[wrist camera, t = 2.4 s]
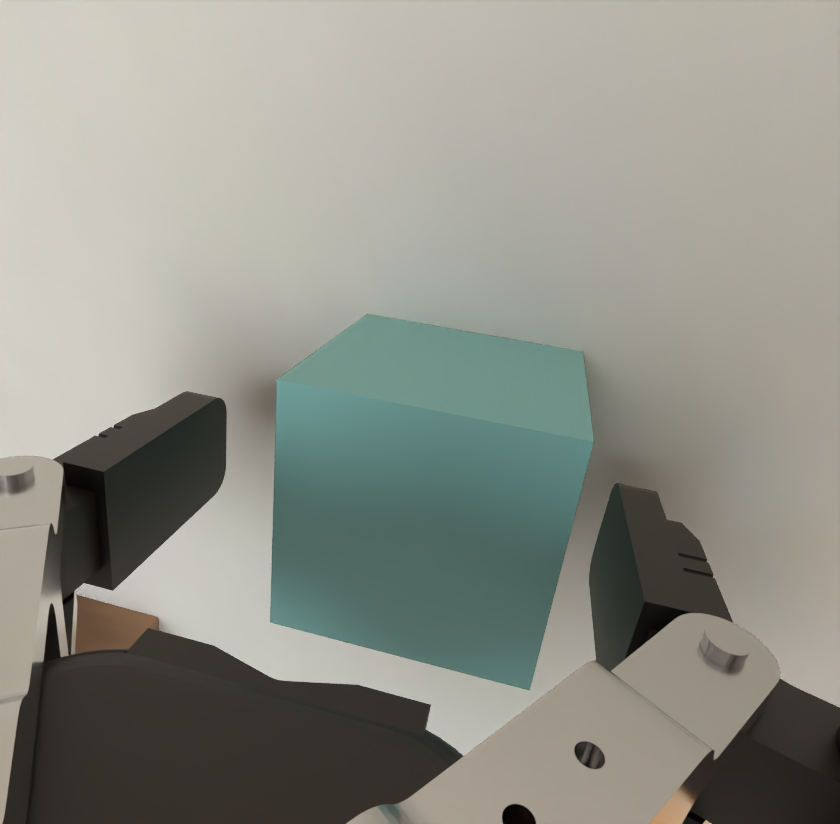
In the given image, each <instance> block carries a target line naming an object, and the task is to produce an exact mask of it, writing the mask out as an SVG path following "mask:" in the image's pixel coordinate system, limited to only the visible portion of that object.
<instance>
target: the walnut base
mask: <svg viewBox="0 0 840 824" xmlns="http://www.w3.org/2000/svg"><path fill="white" fill-rule="evenodd" d="M76 596H77V625H76V645H75V654H77V653H82V652H88V651H96V650H103V649H129V648H130V647H131V646H132V645H133V644H134V643H135V642H136V641H137V639H138V638H139V637H140V636H141V635H142V634H143V633H144V632H145V631H146V629H147V628H150V629H154V630H158V631H159V621H158V617H155V616H151V615H147V614H144V613H140V612H137V611H133V610H129V609H126V608H122V607H118V606H115V605H111V604H107V603H104V602H100V601H97V600H93V599H89V598H86V597H82V596H78V595H76Z"/></svg>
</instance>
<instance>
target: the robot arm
mask: <svg viewBox="0 0 840 824" xmlns="http://www.w3.org/2000/svg"><path fill="white" fill-rule="evenodd" d="M226 418H227V412H226V405H225V402H224V401H223V400H222V399H221V398H216V397H212V396H207V395H202V394H197V393H193V392H188V391H187V392H183V393H181V394H180V395H178V396H176V397H174V398H173V399H171V400H169V401H168V402H166V403H164V404H162V405H161V406H159V407H157V408H155V409H152V410H148V411H145V412H141V413H137V414H134V415H131V416H130V417H128V418H126V419H124V420H122V421H121V422H119V423H117V424H115V425H114V428H112V427H110V428H108V429H106V430H105V431H103V432H101V433H99V436H94V437H92V438H90V439H89V440H87V441H85V442H83V443H82V444H80V445H78V446H76V447H74V448H73V449H71V450H69V451H67V452H66V453H64V454H62V455H60V456H58V457H57V458H55V459H53V460H52V459H49V458H44V457H38V456H15V457H7V458H2V459H0V824H709V822H710V823H712V824H840V708H839V707H837V706H835V705H833V704H830V703H828V702H826V701H824V700H822V699H819V698H817V697H815V696H813V695H811V694H808V693H806V692H804V691H802V690H800V689H798V688H796V687H794V686H792V685H790V684H788V683H787V682H785V681H783V680H781V679H780V668H779V665H778V662H777V660H776V659H775V657H774V655H773V654H772V653H771V651H770V650H769V649H768V648H767V647H766V646H765V645H764V644H763V643H762V642H761V641H760V640H759V639H758V638H756V637H755V636H754V635H753V634H751V633H750V632H748V631H747V630H745V629H744V628H742V627H740V626H738V625H736V624H734V623H733V621H732V619H731V616H730V614H729V612H728V609H727V607H726V604H725V602H724V599H723V597H722V595H721V592H720V590H719V587H718V585H717V582H716V580H715V578H713V573H712V570H711V568H710V565H709V563H707V558H706V556H705V553H704V551H703V548H702V546H701V543H700V541H699V540H698V539H697V538H696V537H695V536H694V535H693V534H692V533H691V532H690V531H689V530H688V529H687V528H686V527H685V526H684V525H683V524H682V523H679V522H674V521H670V520H667V519H666V516H665V513H664V510H663V508H662V505H661V502H660V499H659V496H658V493H657V492H655V491H651V490H646V489H641V488H637V487H632V486H627V485H622V484H618V483H616V484H615V485H614V487H613V489H612V491H611V494H610V497H609V501H608V504H607V507H606V511H605V514H604V518H603V521H602V524H601V528H600V531H599V534H598V538H597V541H596V544H595V548H594V551H593V555H592V560H591V566H590V574H589V587H590V597H591V608H592V619H593V629H594V640H595V650H596V661H595V660H594V661H590V662H588V663H586V664H585V665H583V666H582V667H581V668H579V669H578V670H577V671H575V672H574V673H573V674H571V675H570V676H569V677H567V678H566V679H565V680H563V681H562V682H561V683H560V684H558V685H557V686H556V687H554V688H553V689H552V690H550V691H549V692H548V693H546V694H545V695H544V696H542V697H541V698H540V699H538V700H537V701H536V702H534V703H533V704H532V705H531V706H529V707H528V708H527V709H525V710H524V711H523V712H521V713H520V714H519V715H517V716H516V717H515V718H513V719H512V720H511V721H509V722H508V723H507V724H506V725H504V726H503V727H502V728H500V729H499V730H498V731H496V732H495V733H494V734H492V735H491V736H490V737H488V738H487V739H486V740H484V741H483V742H482V743H481V744H479V745H478V746H477V747H475V748H474V749H473V750H471V751H470V752H469V753H467V754H466V755H465V756H463V755H462V754H460V753H459V752H458V751H457V750H456V749H455V748H453V747H452V746H451V745H449V744H448V743H446V742H445V741H443V740H442V739H441V738H439V737H437V736H436V735H434V734H432V733H431V732H429V731H427V730H426V726H427V721H428V716H429V711H430V706H431V705H429V704H426V703H422V702H418V701H415V700H411V699H407V698H404V697H400V696H396V695H393V694H389V693H385V692H382V691H378V690H374V689H371V688H367V687H363V686H360V685H349V684H330V683H311V682H292V681H280V680H276V679H273V678H271V677H269V676H267V675H265V674H263V673H261V672H260V671H258V670H256V669H254V668H253V667H251V666H249V665H247V664H245V663H244V662H242V661H240V660H238V659H236V658H235V657H233V656H231V655H229V654H228V653H226V652H224V651H222V650H220V649H219V648H217V647H215V646H213V645H209V644H205V643H202V642H198V641H194V640H191V639H187V638H183V637H180V636H176V635H172V634H169V633H165V632H161V631H158V630H154V629H150V628H147V629H146V631H145V632H144V633H143V634H142V635H141V636H140V637H139V638H138V639H137V641H136V642H135V643H134V644H133V645H132V646H131V647H130V648H129V649H103V650H96V651H88V652H82V653H77V654H75V645H76V625H77V596H76V589H77V588H78V587H79V586H81V585H82V584H83V583H86V584H90V585H94V586H98V587H102V588H105V589H109V590H114V589H115V588H116V587H117V586H118V585H119V584H120V583H121V582H122V581H123V580H125V579H126V578H127V577H128V576H129V575H130V574H131V573H132V572H133V571H134V570H135V569H136V568H137V567H138V566H139V565H141V564H142V563H143V562H144V561H145V560H146V559H147V558H148V557H149V556H150V555H151V554H152V553H153V552H154V551H155V550H157V549H158V548H159V547H160V546H161V545H162V544H163V543H164V542H165V541H166V540H167V539H168V538H169V537H170V536H171V535H173V534H174V533H175V532H176V531H177V530H178V529H179V528H180V527H181V526H182V525H183V524H184V523H185V522H186V521H187V520H189V519H190V518H191V517H192V516H193V515H194V514H195V513H196V512H197V511H198V510H199V509H200V508H201V507H202V506H203V505H205V504H206V503H207V502H208V501H209V500H210V499H211V498H212V497H213V496H214V495H215V494H216V493H217V491H218V490H219V488H220V486H221V484H222V481H223V479H224V475H225V470H226Z"/></svg>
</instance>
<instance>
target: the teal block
mask: <svg viewBox="0 0 840 824" xmlns="http://www.w3.org/2000/svg"><path fill="white" fill-rule="evenodd" d="M593 444H594V438H593V429H592V421H591V413H590V405H589V396H588V388H587V380H586V372H585V363H584V355H583V352H582V351H577V350H571V349H565V348H559V347H554V346H548V345H542V344H537V343H531V342H525V341H519V340H514V339H508V338H502V337H497V336H491V335H485V334H479V333H474V332H468V331H462V330H456V329H451V328H445V327H439V326H434V325H428V324H422V323H416V322H411V321H405V320H399V319H393V318H388V317H382V316H376V315H371V314H367V315H365V316H364V317H362V318H361V319H360V320H358V321H357V322H356V323H354V324H353V325H351V326H350V327H349V328H347V329H346V330H344V331H343V332H342V333H340V334H339V335H338V336H336V337H335V338H333V339H332V340H331V341H329V342H328V343H327V344H325V345H324V346H322V347H321V348H320V349H318V350H317V351H316V352H314V353H313V354H311V355H310V356H309V357H307V358H306V359H304V360H303V361H302V362H300V363H299V364H298V365H296V366H295V367H293V368H292V369H291V370H289V371H288V372H287V373H285V374H284V375H282V376H281V377H280V378H278V379H277V394H276V430H275V467H274V503H273V539H272V575H271V611H270V622H271V623H275V624H279V625H282V626H286V627H290V628H294V629H298V630H301V631H305V632H309V633H313V634H317V635H321V636H324V637H328V638H332V639H336V640H340V641H343V642H347V643H351V644H355V645H359V646H362V647H366V648H370V649H374V650H378V651H381V652H385V653H389V654H393V655H397V656H401V657H404V658H408V659H412V660H416V661H420V662H423V663H427V664H431V665H435V666H439V667H442V668H446V669H450V670H454V671H458V672H461V673H465V674H469V675H473V676H477V677H481V678H484V679H488V680H492V681H496V682H500V683H503V684H507V685H511V686H515V687H519V688H522V689H526V690H530V686H531V683H532V679H533V675H534V671H535V667H536V663H537V659H538V656H539V652H540V648H541V644H542V640H543V636H544V632H545V629H546V625H547V621H548V617H549V613H550V609H551V605H552V602H553V598H554V594H555V590H556V586H557V582H558V578H559V575H560V571H561V567H562V563H563V559H564V555H565V552H566V548H567V544H568V540H569V536H570V532H571V528H572V525H573V521H574V517H575V513H576V509H577V505H578V501H579V498H580V494H581V490H582V486H583V482H584V478H585V474H586V471H587V467H588V463H589V459H590V455H591V451H592V448H593Z"/></svg>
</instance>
